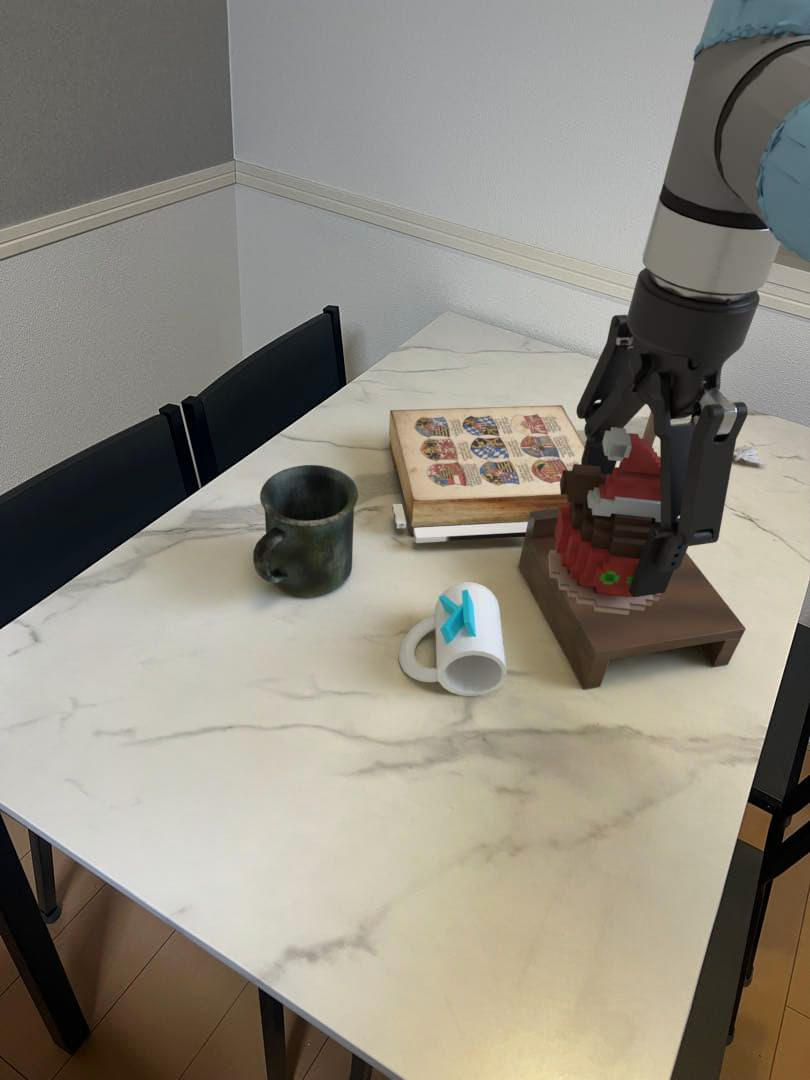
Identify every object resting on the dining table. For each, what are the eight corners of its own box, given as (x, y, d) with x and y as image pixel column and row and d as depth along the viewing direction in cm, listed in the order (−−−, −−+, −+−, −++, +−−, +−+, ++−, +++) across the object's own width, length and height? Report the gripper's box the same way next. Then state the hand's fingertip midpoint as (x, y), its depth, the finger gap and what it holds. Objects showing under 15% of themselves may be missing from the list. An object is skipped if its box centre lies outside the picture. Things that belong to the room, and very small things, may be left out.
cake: (658, 549, 70) (727, 365, 58) (676, 626, 63) (758, 435, 51) (537, 535, 70) (581, 349, 59) (542, 611, 63) (593, 417, 52)
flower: (730, 442, 129) (737, 427, 128) (777, 464, 125) (784, 449, 124) (710, 452, 124) (717, 436, 123) (757, 475, 120) (765, 459, 119)
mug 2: (482, 550, 87) (491, 631, 78) (504, 606, 93) (514, 687, 84) (382, 576, 90) (378, 657, 81) (409, 629, 96) (408, 710, 86)
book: (399, 555, 102) (608, 543, 106) (402, 516, 97) (619, 505, 102) (375, 447, 120) (554, 440, 124) (377, 410, 116) (561, 405, 120)
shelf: (728, 664, 91) (756, 609, 85) (583, 689, 86) (602, 632, 81) (645, 550, 105) (664, 496, 99) (517, 567, 101) (530, 511, 95)
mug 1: (373, 564, 99) (377, 487, 92) (297, 633, 90) (295, 553, 82) (305, 529, 104) (304, 453, 96) (226, 591, 94) (217, 511, 86)
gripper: (873, 360, 43) (733, 641, 57) (664, 213, 59) (596, 462, 73) (753, 370, 41) (639, 658, 55) (571, 216, 57) (520, 470, 71)
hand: (615, 546), depth 64 cm, fingers closed on cake, 10 cm apart
